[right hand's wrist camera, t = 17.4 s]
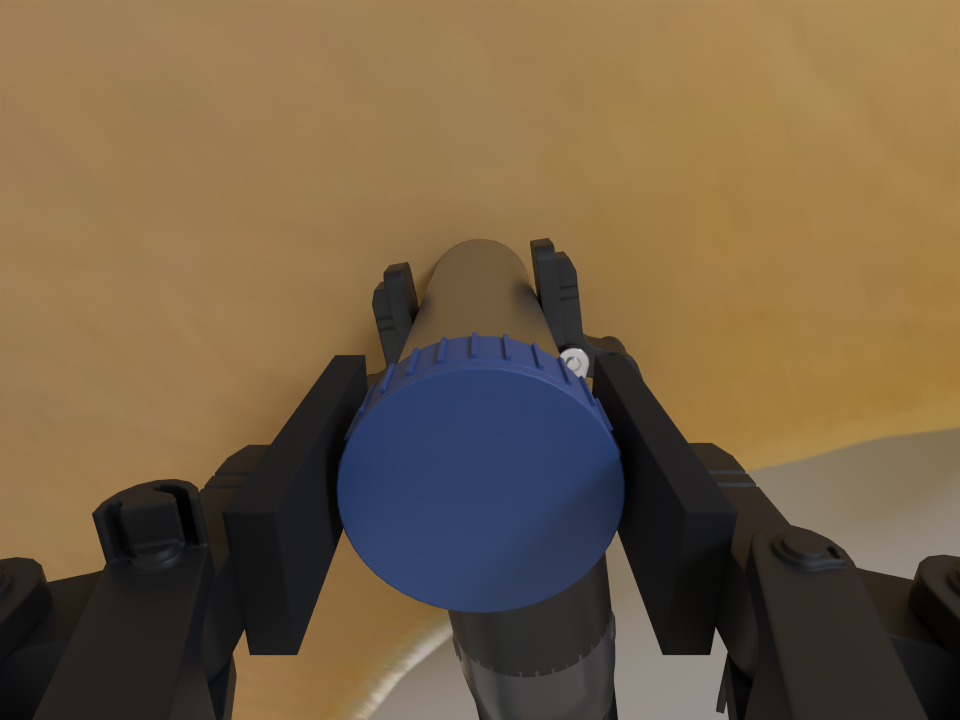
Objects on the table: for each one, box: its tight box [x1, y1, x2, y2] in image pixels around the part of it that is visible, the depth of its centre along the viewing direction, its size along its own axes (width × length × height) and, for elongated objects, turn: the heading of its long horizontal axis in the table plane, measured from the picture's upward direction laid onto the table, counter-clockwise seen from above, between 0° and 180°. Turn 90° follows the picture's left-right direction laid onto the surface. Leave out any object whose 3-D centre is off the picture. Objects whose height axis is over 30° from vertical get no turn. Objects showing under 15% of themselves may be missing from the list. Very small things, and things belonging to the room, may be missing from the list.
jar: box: [398, 239, 560, 363], centre depth 19 cm, size 5×5×17 cm
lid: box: [336, 332, 625, 613], centre depth 11 cm, size 6×6×2 cm
